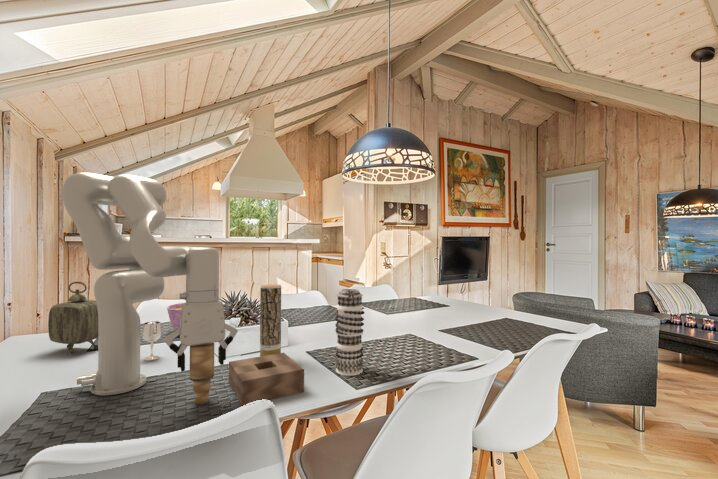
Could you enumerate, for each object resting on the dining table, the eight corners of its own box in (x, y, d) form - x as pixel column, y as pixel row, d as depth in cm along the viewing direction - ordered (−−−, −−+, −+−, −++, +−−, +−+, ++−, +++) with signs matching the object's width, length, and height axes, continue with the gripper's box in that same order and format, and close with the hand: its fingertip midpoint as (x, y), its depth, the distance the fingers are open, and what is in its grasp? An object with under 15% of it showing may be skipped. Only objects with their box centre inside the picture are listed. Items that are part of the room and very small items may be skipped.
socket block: (242, 406, 85) (242, 381, 85) (228, 383, 98) (228, 361, 99) (304, 391, 93) (304, 369, 93) (283, 372, 107) (283, 352, 107)
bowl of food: (208, 324, 167) (209, 300, 168) (223, 332, 152) (223, 306, 152) (161, 331, 155) (162, 304, 155) (172, 341, 139) (172, 312, 139)
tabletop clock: (105, 348, 129) (105, 280, 129) (83, 356, 120) (84, 283, 120) (69, 347, 131) (69, 280, 131) (45, 354, 122) (45, 282, 122)
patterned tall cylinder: (369, 368, 110) (370, 289, 110) (354, 378, 102) (354, 292, 102) (345, 363, 115) (345, 287, 115) (328, 372, 107) (329, 290, 107)
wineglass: (139, 358, 119) (140, 322, 119) (158, 354, 123) (159, 320, 123) (144, 362, 115) (144, 325, 115) (163, 358, 119) (164, 322, 119)
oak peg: (190, 408, 84) (191, 349, 84) (188, 399, 88) (188, 343, 88) (215, 402, 87) (216, 345, 87) (211, 394, 91) (212, 340, 91)
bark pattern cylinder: (275, 364, 114) (276, 287, 114) (256, 362, 115) (256, 286, 115) (284, 357, 121) (284, 284, 121) (265, 355, 122) (266, 284, 122)
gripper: (163, 301, 80) (163, 378, 80) (241, 295, 89) (241, 364, 89) (162, 297, 86) (161, 368, 86) (235, 292, 95) (235, 356, 95)
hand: (202, 366), depth 88 cm, fingers open, 8 cm apart
